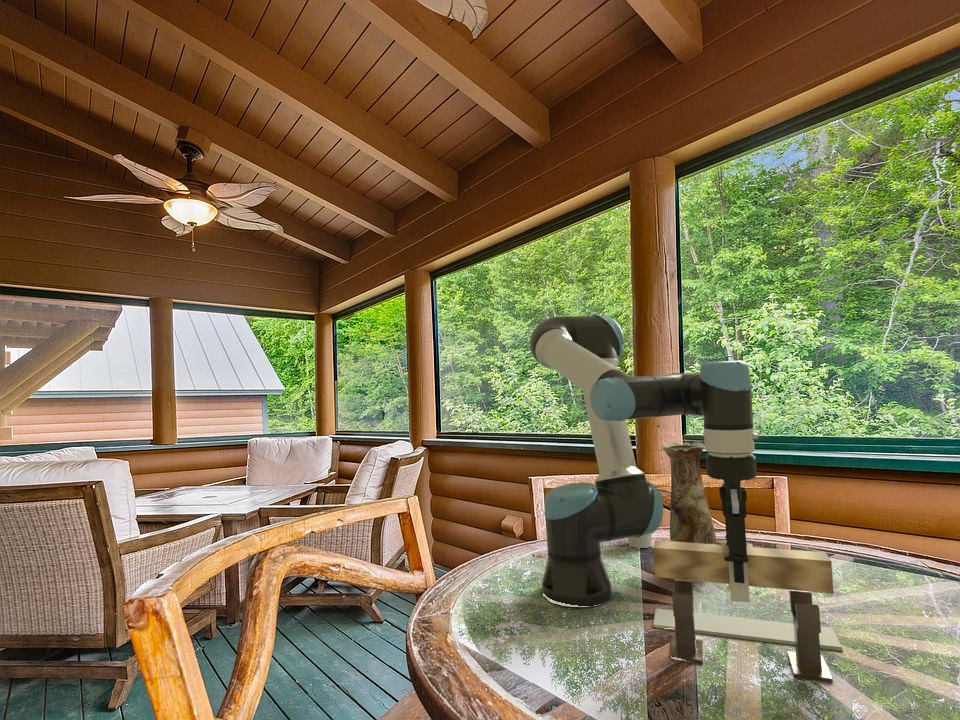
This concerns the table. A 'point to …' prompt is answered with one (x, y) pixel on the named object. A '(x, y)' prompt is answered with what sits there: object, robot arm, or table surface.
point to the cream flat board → (746, 628)
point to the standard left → (685, 624)
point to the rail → (762, 565)
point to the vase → (688, 496)
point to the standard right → (807, 639)
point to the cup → (641, 541)
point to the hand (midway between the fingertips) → (739, 594)
